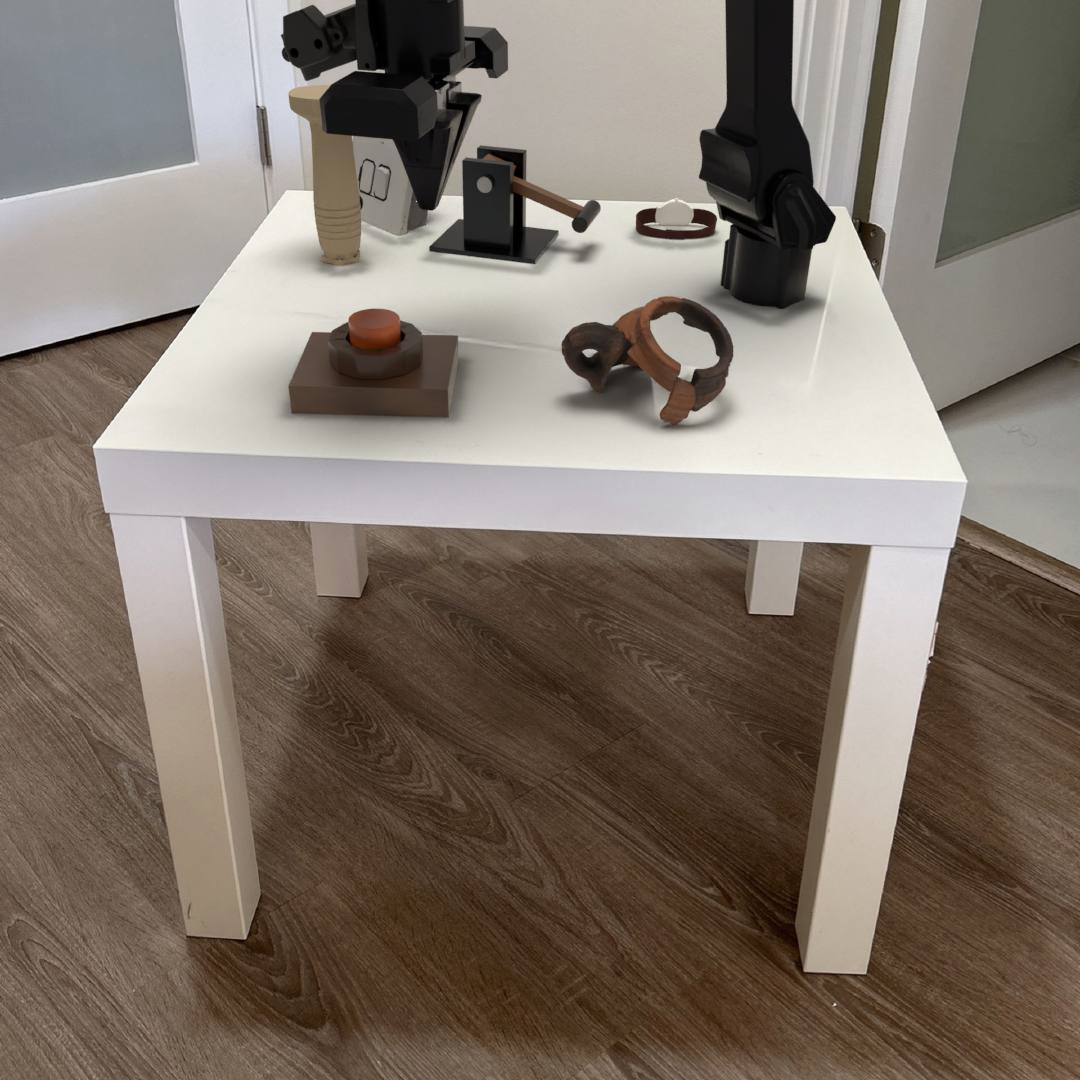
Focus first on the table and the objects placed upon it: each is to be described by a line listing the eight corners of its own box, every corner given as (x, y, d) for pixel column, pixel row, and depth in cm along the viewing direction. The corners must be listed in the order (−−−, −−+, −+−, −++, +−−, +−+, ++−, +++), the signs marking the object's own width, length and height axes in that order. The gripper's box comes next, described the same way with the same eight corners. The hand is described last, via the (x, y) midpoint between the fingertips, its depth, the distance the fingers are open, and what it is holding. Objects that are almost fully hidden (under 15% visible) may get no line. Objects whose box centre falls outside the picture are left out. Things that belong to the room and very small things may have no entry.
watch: (711, 231, 115) (715, 194, 113) (718, 248, 111) (722, 210, 109) (632, 230, 115) (634, 193, 113) (636, 247, 111) (639, 209, 109)
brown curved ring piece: (675, 362, 91) (728, 291, 85) (701, 463, 87) (759, 396, 80) (533, 341, 87) (577, 264, 80) (552, 447, 82) (601, 375, 76)
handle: (375, 277, 104) (364, 100, 95) (302, 276, 103) (284, 99, 95) (380, 257, 108) (370, 85, 99) (309, 256, 107) (293, 84, 99)
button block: (458, 362, 90) (457, 312, 88) (448, 418, 82) (447, 365, 80) (314, 358, 90) (309, 309, 88) (291, 414, 82) (285, 361, 80)
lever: (595, 222, 108) (605, 198, 106) (582, 240, 104) (591, 216, 102) (485, 173, 108) (493, 148, 107) (467, 189, 104) (475, 164, 103)
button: (403, 331, 86) (402, 308, 85) (397, 352, 83) (396, 329, 82) (354, 330, 86) (352, 307, 85) (346, 351, 83) (344, 328, 82)
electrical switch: (339, 219, 116) (340, 121, 111) (382, 213, 119) (384, 117, 114) (397, 245, 110) (400, 143, 106) (440, 238, 114) (445, 139, 109)
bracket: (558, 242, 112) (561, 148, 107) (534, 272, 105) (536, 173, 100) (458, 230, 114) (456, 137, 109) (429, 259, 107) (425, 161, 102)
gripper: (354, -69, 81) (372, 159, 90) (222, -23, 67) (259, 243, 76) (508, -62, 79) (511, 172, 88) (406, -13, 64) (422, 262, 73)
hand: (428, 208), depth 81 cm, fingers closed
